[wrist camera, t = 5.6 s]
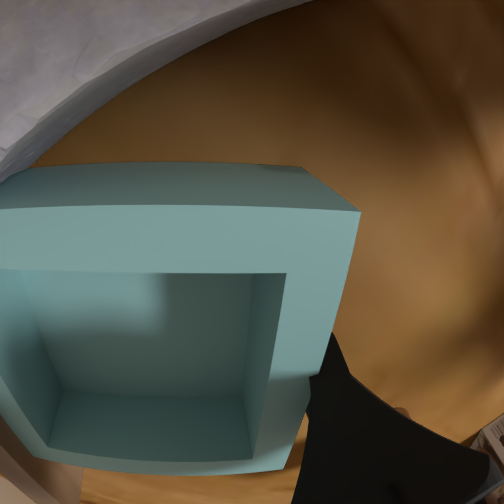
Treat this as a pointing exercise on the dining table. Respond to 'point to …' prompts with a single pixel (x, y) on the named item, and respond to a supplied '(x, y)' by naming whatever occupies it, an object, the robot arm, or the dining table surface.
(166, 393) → the socket block
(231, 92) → the dining table surface
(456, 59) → the dining table surface
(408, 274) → the dining table surface
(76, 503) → the walnut wall
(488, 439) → the coffee box
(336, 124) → the dining table surface
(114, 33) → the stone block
